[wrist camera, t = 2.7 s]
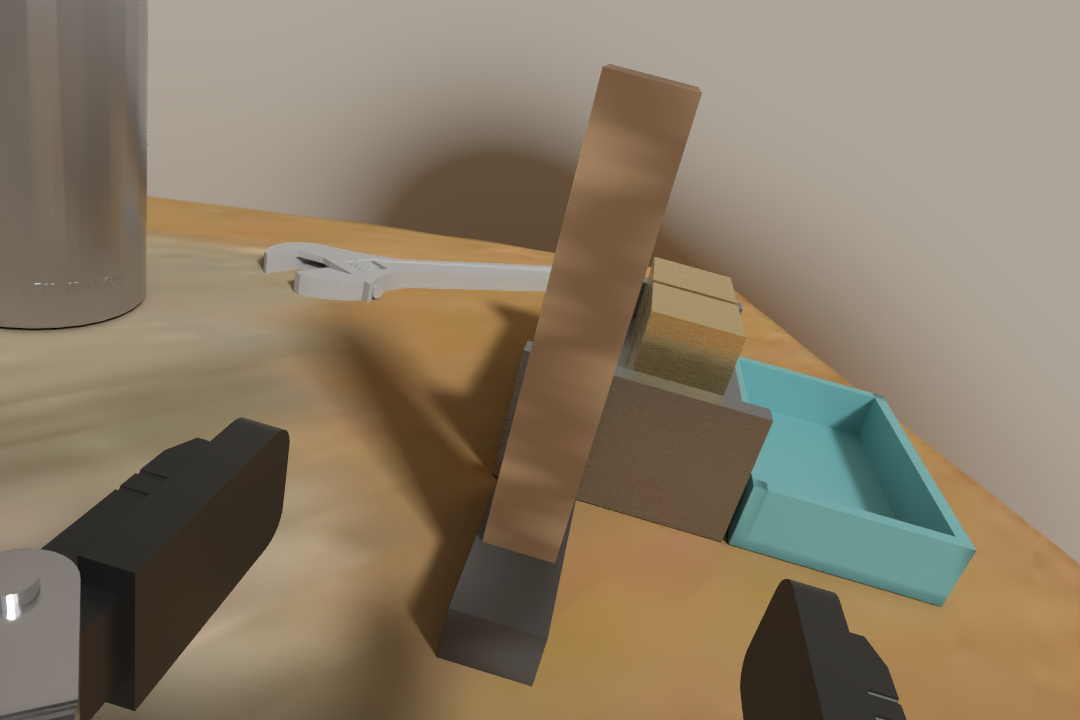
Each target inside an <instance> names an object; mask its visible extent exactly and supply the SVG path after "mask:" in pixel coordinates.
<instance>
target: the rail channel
mask: <svg viewBox="0 0 1080 720" xmlns="http://www.w3.org/2000/svg"><path fill="white" fill-rule="evenodd" d="M647 280H648V278H646V277H644V280H643V283H642V286H641V289H640V293H639V296H638V299H637V302H636V305H635V309H634V312H633V315H632V318H631V321H630V325H629V328H628V331H627V334H626V338H625V341H624V344H623V347H622V350H621V354H620V357H619V360H618V363H617V366H616V370H615V373H614V376H613V379H612V382H611V386H610V389H609V392H608V395H607V398H606V402H605V405H604V408H603V411H602V414H601V418H600V421H599V424H598V427H597V430H596V434H595V437H594V440H593V443H592V446H591V450H590V453H589V456H588V459H587V463H586V466H585V469H584V472H583V475H582V479H581V482H580V485H579V488H578V491H577V496H576V499H577V500H580V501H583V502H587V503H590V504H594V505H597V506H600V507H604V508H607V509H611V510H614V511H617V512H621V513H624V514H628V515H631V516H635V517H638V518H641V519H645V520H648V521H652V522H655V523H658V524H662V525H665V526H669V527H672V528H675V529H679V530H682V531H686V532H689V533H693V534H696V535H699V536H703V537H706V538H710V539H713V540H716V541H720V542H722V540H723V537H724V535H725V533H726V530H727V528H728V526H729V523H730V521H731V519H732V516H733V514H734V512H735V509H736V507H737V505H738V502H739V500H740V498H741V495H742V493H743V491H744V488H745V486H746V484H747V481H748V479H749V477H750V474H751V472H752V470H753V467H754V465H755V463H756V460H757V458H758V456H759V453H760V451H761V449H762V446H763V444H764V442H765V439H766V437H767V435H768V432H769V430H770V428H771V425H772V423H773V418H772V414H771V411H770V409H768V408H764V407H761V406H757V405H754V404H750V403H747V402H743V401H742V398H741V393H740V388H739V383H738V378H737V373H736V369H735V368H734V370H733V373H732V376H731V378H730V381H729V383H728V386H727V389H726V391H725V394H724V396H722V395H719V394H715V393H711V392H708V391H704V390H701V389H697V388H694V387H690V386H687V385H683V384H680V383H676V382H673V381H669V380H666V379H662V378H659V377H655V376H651V375H648V374H644V373H641V372H637V371H634V370H630V369H628V363H629V357H630V356H629V354H630V346H631V338H632V330H633V325H634V322H635V318H636V315H637V312H638V309H639V306H640V302H641V299H642V296H643V293H644V290H645V286H646V283H647ZM736 305H738V308H739V311H740V315H741V312H742V306H741V304H740V303H737V304H736ZM532 343H533V342H531V341H527V343H526V346H525V348H524V350H523V354H522V358H521V362H520V366H519V370H518V374H517V378H516V382H515V386H514V390H513V394H512V398H511V402H510V406H509V410H508V414H507V419H506V423H505V427H504V431H503V435H502V439H501V443H500V447H499V451H498V455H497V459H496V463H495V467H494V471H493V475H495V476H498V477H499V473H500V470H501V466H502V462H503V458H504V454H505V450H506V446H507V442H508V438H509V434H510V430H511V426H512V422H513V418H514V414H515V410H516V406H517V403H518V399H519V395H520V391H521V387H522V383H523V379H524V375H525V371H526V367H527V363H528V359H529V355H530V351H531V347H532Z"/></svg>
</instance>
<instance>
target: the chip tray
mask: <svg viewBox="0 0 1080 720" xmlns="http://www.w3.org/2000/svg"><path fill="white" fill-rule="evenodd" d="M735 369H736V373H737V378H738V383H739V388H740V393H741V398H742V401H743V402H747V403H750V404H754V405H757V406H761V407H764V408H768V409H770V411H771V414H772V418H773V423H772V425H771V428H770V430H769V432H768V435H767V437H766V439H765V442H764V444H763V446H762V449H761V451H760V453H759V456H758V458H757V460H756V463H755V465H754V467H753V470H752V472H751V474H750V477H749V479H748V481H747V484H746V486H745V488H744V491H743V493H742V495H741V498H740V500H739V502H738V505H737V507H736V509H735V512H734V514H733V516H732V519H731V521H730V523H729V526H728V528H727V533H728V542H729V544H730V545H733V546H737V547H740V548H743V549H747V550H750V551H754V552H757V553H760V554H764V555H767V556H771V557H774V558H777V559H781V560H784V561H788V562H791V563H794V564H798V565H801V566H805V567H808V568H812V569H815V570H818V571H822V572H825V573H829V574H832V575H835V576H839V577H842V578H846V579H849V580H852V581H856V582H859V583H863V584H866V585H869V586H873V587H876V588H880V589H883V590H887V591H890V592H893V593H897V594H900V595H904V596H907V597H910V598H914V599H917V600H921V601H924V602H927V603H931V604H934V605H938V606H941V607H942V605H943V604H944V602H945V600H946V599H947V597H948V595H949V594H950V592H951V591H952V589H953V587H954V586H955V584H956V582H957V581H958V579H959V578H960V576H961V574H962V573H963V571H964V570H965V568H966V566H967V565H968V563H969V561H970V560H971V558H972V557H973V555H974V553H975V552H976V549H975V548H974V546H973V544H972V543H971V541H970V539H969V538H968V536H967V534H966V533H965V531H964V529H963V528H962V526H961V524H960V523H959V521H958V520H957V518H956V516H955V515H954V513H953V511H952V510H951V508H950V506H949V505H948V503H947V501H946V500H945V498H944V496H943V495H942V493H941V492H940V490H939V488H938V487H937V485H936V483H935V482H934V480H933V478H932V477H931V475H930V473H929V472H928V470H927V468H926V467H925V465H924V463H923V462H922V460H921V459H920V457H919V455H918V454H917V452H916V450H915V449H914V447H913V445H912V444H911V442H910V440H909V439H908V437H907V435H906V434H905V432H904V430H903V429H902V427H901V426H900V424H899V422H898V421H897V419H896V417H895V416H894V414H893V412H892V411H891V409H890V408H889V406H888V404H887V402H886V401H885V399H884V398H883V396H881V395H877V394H873V393H870V392H866V391H863V390H859V389H856V388H852V387H848V386H845V385H841V384H838V383H834V382H831V381H827V380H823V379H820V378H816V377H813V376H809V375H806V374H802V373H798V372H795V371H791V370H788V369H784V368H781V367H777V366H773V365H770V364H766V363H763V362H759V361H756V360H752V359H748V358H745V357H741V356H739V358H738V360H737V363H736V365H735Z"/></svg>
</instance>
